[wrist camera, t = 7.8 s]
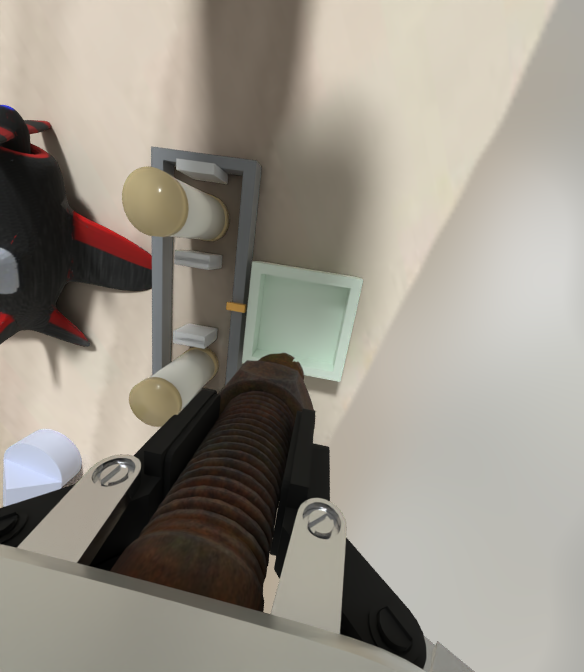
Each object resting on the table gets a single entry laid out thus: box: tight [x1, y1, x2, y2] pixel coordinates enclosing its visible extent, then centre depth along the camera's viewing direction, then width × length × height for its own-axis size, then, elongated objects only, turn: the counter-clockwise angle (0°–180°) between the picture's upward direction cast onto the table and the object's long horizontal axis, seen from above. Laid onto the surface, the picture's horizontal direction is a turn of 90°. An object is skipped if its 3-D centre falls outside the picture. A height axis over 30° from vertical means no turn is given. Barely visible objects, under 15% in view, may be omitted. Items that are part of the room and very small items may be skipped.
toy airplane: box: [0, 105, 152, 346], centre depth 28 cm, size 28×24×15 cm
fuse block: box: [151, 147, 262, 408], centre depth 30 cm, size 11×28×4 cm, turn 171°
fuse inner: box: [122, 167, 229, 241], centre depth 25 cm, size 5×5×10 cm
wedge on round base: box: [3, 429, 82, 507], centre depth 40 cm, size 9×7×13 cm
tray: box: [242, 261, 363, 382], centre depth 30 cm, size 11×11×3 cm
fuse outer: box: [129, 347, 219, 427], centre depth 30 cm, size 5×5×10 cm
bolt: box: [110, 353, 315, 612], centre depth 10 cm, size 6×5×15 cm
